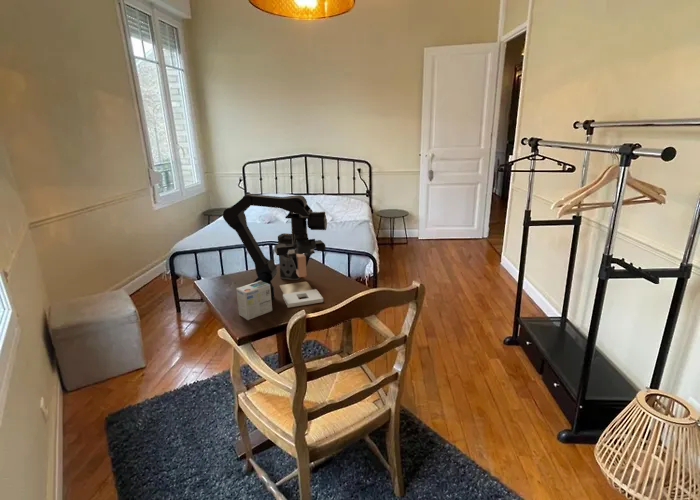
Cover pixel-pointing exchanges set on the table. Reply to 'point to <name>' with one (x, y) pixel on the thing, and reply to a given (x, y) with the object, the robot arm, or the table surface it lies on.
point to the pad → (295, 287)
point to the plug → (301, 265)
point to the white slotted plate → (293, 299)
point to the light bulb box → (254, 299)
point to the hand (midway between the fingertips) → (301, 268)
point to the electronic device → (287, 259)
